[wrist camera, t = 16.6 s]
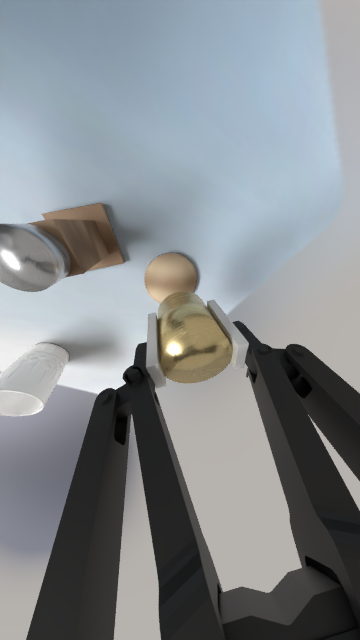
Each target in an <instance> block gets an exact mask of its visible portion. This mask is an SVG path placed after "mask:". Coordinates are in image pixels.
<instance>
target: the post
mask: <svg viewBox="0 0 360 640" xmlns="http://www.w3.org/2000/svg"><path fill="white" fill-rule="evenodd" d="M42 215H43V217H44V218H45V220H43V221H38V222H33V223H27V224H31V225H35V226H38V227H40V228H42V229H44V230H46V231H48V232H49V233H51V234H52V235H54V236H55V237H56V238H57V239H58V240H59V241H60V242H61V243H62V244H63V246H64V247H65V249H66V250H67V252H68V254H69V257H70V260H71V269H70V272H69V273H68V275H67V276H66V277H69V276H74V275H79V274H84V273H85V272H86V271H88V270H93V269H98V268H103V267H108V266H113V265H117V264H122V263H124V259H123V256H122V254H121V251H120V248H119V246H118V243H117V240H116V238H115V235H114V232H113V230H112V227H111V224H110V222H109V219H108V216H107V214H106V211H105V208H104V206H103V204H102V203H98V204H93V205H87V206H82V207H77V208H71V209H66V210H60V211H55V212H50V213H44V214H42Z"/></svg>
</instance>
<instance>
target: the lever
mask: <svg viewBox="0 0 360 640" xmlns="http://www.w3.org/2000/svg"><path fill="white" fill-rule="evenodd" d="M70 269H71V260H70V257H69V254H68V252H67V250H66V249H65V247H64V246H63V244H62V243H61V242H60V241H59V240H58V239H57V238H56V237H55V236H54V235H52V234H51V233H49V232H48V231H46V230H44V229H42V228H40V227H38V226H35V225H31V224H0V282H1V283H3V284H5V285H7V286H9V287H12V288H15V289H18V290H22V291H27V292H37V291H42V290H45V289H47V288H48V287H50V286H51V285H53V284H55V283H56V282H58V281H59V280H61V279H63V278H64V277H66V276H67V275H68V273H69V272H70Z"/></svg>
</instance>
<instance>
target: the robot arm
mask: <svg viewBox="0 0 360 640" xmlns="http://www.w3.org/2000/svg"><path fill="white" fill-rule="evenodd" d="M207 308H208V310H209V311H210V313H211V314H212V316H213V317H214V319H215V320H216V322H217V324H218V325H219V327H220V328H221V330H222V331H223V333H224V334H225V336H226V337H227V339H228V340H229V342H230V343H231V345H232V348H233V352H232V359H231V363H232V365H233V367H234V368H235V369H239V368H242V367H244V365H245V363H246V365H247V366H248V369H247V374H246V377H248V375H249V378H250V381H251V384H252V388H253V391H254V394H255V398H256V401H257V403H258V408H259V411H260V414H261V418H262V421H263V424H264V427H265V431H266V434H267V437H268V441H269V443H270V447H271V451H272V454H273V457H274V461H275V464H276V467H277V471H278V474H279V477H280V481H281V484H282V487H283V491H284V494H285V497H286V501H287V504H288V507H289V513H290V524H291V529H292V533H293V537H294V541H295V544H296V548H297V551H298V555H299V558H300V561H301V565H302V568H301V569H298V570H294V571H291V572H288V573H287V574H286V576H285V577H284V578H283V579H282V580H281V581H280V582H279V584H278V585H277V586H276V587H275V588H274V589H273V591H271V592H270V593H265V592H261V591H257V590H253V589H249V588H245V587H239V588H236V589H233V590H229V591H226V592H223V591H222V588H221V585H220V582H219V579H218V576H217V573H216V570H215V567H214V564H213V561H212V558H211V555H210V552H209V550H208V546H207V544H206V542H205V539H204V537H203V534H202V532H201V528H200V525H199V522H198V519H197V516H196V513H195V510H194V507H193V504H192V501H191V498H190V495H189V492H188V489H187V485H186V482H185V479H184V477H183V473H182V470H181V467H180V464H179V461H178V458H177V455H176V452H175V449H174V446H173V443H172V440H171V437H170V434H169V431H168V428H167V425H166V422H165V419H164V416H163V413H162V410H161V407H160V403H159V400H158V397H157V394H156V392H155V386H156V388H161V387H165V386H166V379H165V375H164V374H163V371H162V369H161V365H160V346H159V328H158V319H157V316H156V313H152V314H148V334H147V342H145V343H141V344H138V346H137V348H136V352H135V359H134V365H133V366H130V367H129V368H127V370H126V371H125V372H124V374H123V380H124V381H125V382H126V384H125V385H123V386H121V387H120V388H118V389H116V390H115V389H112V388H108V389H105V390H103V391H102V392H101V393H100V394H99V395H98V396H97V398H96V400H95V403H94V407H93V410H92V413H91V417H90V420H89V424H88V427H87V430H86V434H85V437H84V441H83V444H82V448H81V451H80V455H79V458H78V462H77V465H76V469H75V472H74V476H73V479H72V482H71V486H70V489H69V493H68V496H67V500H66V504H65V507H64V510H63V514H62V517H61V521H60V524H59V528H58V531H57V535H56V538H55V542H54V545H53V548H52V552H51V555H50V559H49V562H48V566H47V569H46V573H45V576H44V579H43V583H42V587H41V590H40V593H39V597H38V600H37V604H36V607H35V611H34V614H33V618H32V621H31V625H30V628H29V632H28V635H27V639H26V640H113V639H114V627H115V614H116V601H117V587H118V575H119V562H120V549H121V536H122V523H123V511H124V498H125V485H126V471H127V459H128V446H129V445H128V444H129V433H130V420H131V414H132V416H133V422H134V428H135V435H136V441H137V447H138V453H139V460H140V466H141V472H142V479H143V484H144V491H145V497H146V504H147V510H148V517H149V522H150V529H151V535H152V542H153V548H154V554H155V561H156V567H157V574H158V581H159V623H160V632H161V640H360V511H359V509H358V507H357V505H356V504H355V502H354V500H353V498H352V496H351V494H350V492H349V490H348V489H347V487H346V485H345V483H344V481H343V479H342V477H341V476H340V474H339V472H338V470H337V468H336V466H335V464H334V462H333V460H332V459H331V457H330V455H329V453H328V451H327V449H326V447H325V446H324V444H323V442H322V440H321V438H320V436H319V434H318V433H317V431H316V429H315V427H314V425H313V423H312V421H311V419H312V420H313V421H314V423H315V424H316V425H317V427H318V428H319V429H320V430H321V432H322V433H323V434H324V436H325V437H326V438H327V439H328V441H329V442H330V443H331V445H332V446H333V447H334V449H335V450H336V451H337V452H338V454H339V455H340V456H341V457H342V458H343V460H344V461H345V463H346V464H347V465H348V467H349V468H350V469H351V471H352V472H353V473H354V474H355V476H356V477H357V478H358V480H359V481H360V394H359V393H358V392H357V391H356V390H355V389H354V388H352V387H351V386H350V385H349V384H348V383H347V382H345V381H344V380H343V379H342V378H341V377H340V376H338V375H337V374H336V373H335V372H334V371H332V370H331V369H330V368H329V367H328V366H327V365H325V364H324V363H323V362H322V361H321V360H320V359H319V358H317V357H316V356H315V355H314V354H313V353H312V352H310V351H309V350H308V349H307V348H305V347H303V346H301V345H298V344H290V345H288V346H287V347H286V349H274V348H271V347H270V346H268V345H266V344H262V343H261V342H260V341H259V340H258V339H257V338H256V337H255V336H254V335H253V334H252V332H251V331H249V329H248V328H247V327H246V326H245V325H244V324H243V323H241V322H240V321H235V322H231V320H230V319H229V318H228V317H227V315H226V314H225V313H224V312H223V310H222V309H221V308H220V307H219V305H218V304H217V303H216V302H215V300H211V301H207ZM308 415H309V416H310V417H311V419H310V418H309V416H308Z"/></svg>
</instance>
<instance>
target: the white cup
mask: <svg viewBox="0 0 360 640" xmlns="http://www.w3.org/2000/svg"><path fill="white" fill-rule="evenodd" d="M68 360H69V354H68V353H67V352H66V350H65V349H63V348H61V347H59V346H57V345H54V344H50V343H39V344H36V345H33V346H32V347H31V348H29V349H28V350H27V351H26V352H25V353H24V354H23V355H22V356H21V357H19V358H18V359H17V360H15V361H14V362H13V363H12V364H11V365H10V366H9V367H8V368H6V369H5V370H4V371H3V372H2V373H1V374H0V415H4V416H26V415H32V414H35V413H37V412H40V411H41V410H42V409H43V408H44V406H45V404H46V402H47V400H48V399H49V397H50V395H51V393H52V391H53V389H54V387H55V386H56V384H57V382H58V380H59V377H60V376H61V374H62V372H63V369H64V367H65V365H66V363H67V362H68Z"/></svg>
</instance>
